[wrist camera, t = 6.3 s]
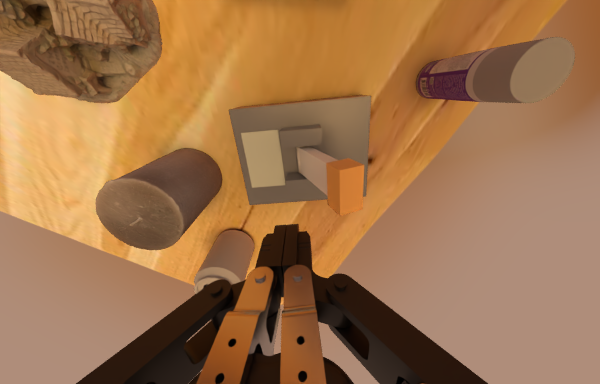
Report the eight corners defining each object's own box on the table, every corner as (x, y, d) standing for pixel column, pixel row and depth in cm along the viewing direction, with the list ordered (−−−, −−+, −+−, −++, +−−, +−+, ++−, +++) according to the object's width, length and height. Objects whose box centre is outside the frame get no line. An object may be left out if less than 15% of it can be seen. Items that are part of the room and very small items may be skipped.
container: (442, 100, 31) (550, 108, 17) (411, 95, 31) (496, 100, 17) (456, 63, 29) (592, 39, 15) (423, 58, 29) (531, 29, 15)
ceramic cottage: (49, 90, 31) (-138, 86, 17) (26, -60, 24) (-300, -255, 11) (164, 122, 33) (80, 140, 20) (169, -6, 27) (53, -107, 14)
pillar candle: (193, 208, 39) (138, 270, 26) (152, 166, 36) (62, 212, 22) (234, 183, 37) (197, 236, 24) (195, 135, 34) (124, 165, 20)
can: (212, 229, 41) (180, 278, 31) (249, 224, 41) (230, 273, 30) (224, 258, 45) (199, 312, 34) (259, 254, 44) (245, 308, 33)
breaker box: (239, 106, 31) (220, 112, 24) (361, 94, 31) (378, 96, 23) (256, 191, 38) (245, 215, 30) (358, 183, 37) (371, 206, 29)
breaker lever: (291, 143, 28) (339, 170, 17) (308, 140, 29) (364, 164, 18) (294, 174, 30) (340, 215, 19) (310, 170, 31) (362, 209, 20)
